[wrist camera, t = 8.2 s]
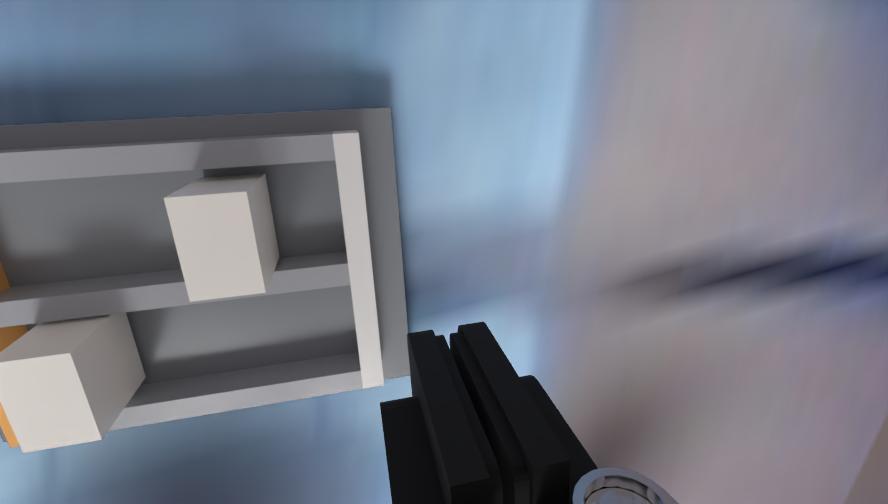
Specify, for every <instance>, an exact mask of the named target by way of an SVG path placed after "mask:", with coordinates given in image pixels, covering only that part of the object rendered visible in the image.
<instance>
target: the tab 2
mask: <svg viewBox="0 0 888 504" xmlns="http://www.w3.org/2000/svg"><path fill="white" fill-rule="evenodd" d="M164 202H165V206H166V210H167V214H168V218H169V222H170V226H171V229H172V233H173V237H174V241H175V245H176V249H177V253H178V257H179V261H180V265H181V269H182V273H183V277H184V281H185V285H186V289H187V293H188V297H189V301H190V302H193V301H201V300H210V299H218V298H226V297H235V296H243V295H251V294H260V293H266V291H267V288H268V285H269V283H270V280H271V278H272V275H273V272H274V270H275V267H276V265H277V262H278V259H279V257H280V256H279V250H278V244H277V238H276V233H275V227H274V221H273V215H272V210H271V204H270V198H269V192H268V187H267V181H266V175H265V173H261V174H247V175H233V176H219V177H205V178H199V179H197V180H195V181H193V182H192V183H190V184H188V185H186V186H184V187H183V188H181V189H179V190H177V191H175V192H173V193H172V194H170V195H168V196H166V197H164Z"/></svg>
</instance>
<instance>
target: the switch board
mask: <svg viewBox="0 0 888 504" xmlns="http://www.w3.org/2000/svg"><path fill="white" fill-rule="evenodd" d="M261 173H265V175H266V181H267V187H268V192H269V198H270V204H271V210H272V215H273V221H274V227H275V233H276V238H277V244H278V250H279V256H280V257H279V259H278V262H277V265H276V267H275V270H274V272H273V275H272V278H271V280H270V283H269V285H268V288H267V291H266V293H260V294H251V295H243V296H235V297H226V298H218V299H210V300H201V301H193V302H190V301H189V297H188V293H187V289H186V285H185V281H184V277H183V273H182V269H181V265H180V261H179V257H178V253H177V249H176V245H175V241H174V237H173V233H172V229H171V226H170V222H169V218H168V214H167V210H166V206H165V202H164V197H166V196H168V195H170V194H172V193H173V192H175V191H177V190H179V189H181V188H183V187H184V186H186V185H188V184H190V183H192V182H193V181H195V180H197V179H199V178H205V177H219V176H233V175H247V174H261ZM124 312H126V314H127V318H128V321H129V324H130V327H131V331H132V334H133V337H134V340H135V344H136V347H137V350H138V353H139V357H140V360H141V363H142V366H143V370H144V373H145V376H146V378H145V379H144V381H143V382H142V383H141V385H140V386H139V388H138V389H137V390H136V392H135V393H134V395H133V396H132V398H131V399H130V400H129V402H128V403H127V405H126V406H125V408H124V409H123V410H122V412H121V413H120V415H119V416H118V418H117V419H116V420H115V422H114V423H113V425H112V426H111V428H110V429H109V430H108V431H112V430H118V429H124V428H130V427H136V426H142V425H148V424H154V423H160V422H166V421H172V420H178V419H184V418H190V417H196V416H202V415H208V414H214V413H220V412H226V411H232V410H238V409H244V408H250V407H257V406H263V405H269V404H275V403H281V402H287V401H293V400H299V399H305V398H311V397H317V396H323V395H329V394H335V393H341V392H347V391H353V390H359V389H365V388H371V387H377V386H383V385H384V380H385V379H391V378H397V377H403V376H409V375H410V365H409V355H408V344H407V334H408V326H407V312H406V299H405V286H404V273H403V260H402V247H401V234H400V221H399V208H398V195H397V182H396V169H395V156H394V143H393V130H392V117H391V108H390V107H379V108H357V109H336V110H315V111H294V112H273V113H251V114H230V115H209V116H188V117H167V118H145V119H124V120H103V121H82V122H60V123H39V124H18V125H0V352H1V351H3V350H4V349H5V348H7V347H8V346H9V345H11V344H12V343H14V342H15V341H16V340H18V339H19V338H20V337H22V336H23V335H24V334H26V333H27V332H28V331H30V330H31V329H32V328H34V327H35V326H36V325H38V324H39V323H42V322H50V321H58V320H67V319H75V318H83V317H91V316H100V315H108V314H116V313H124ZM0 435H1V438H2V440H3V442H6V441H7V442H8V444H9V446H10V447H16V446H20V445H19V443H18V441H17V438H16V436H15V434H14V432H13V429H12V427H11V425H10V423H9V420H8V418H7V416H6V414H5V411H4V409H3V407H2V405H1V402H0Z"/></svg>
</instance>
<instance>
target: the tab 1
mask: <svg viewBox="0 0 888 504" xmlns="http://www.w3.org/2000/svg"><path fill="white" fill-rule="evenodd" d="M145 378H146V376H145V373H144V370H143V366H142V363H141V360H140V357H139V353H138V350H137V347H136V344H135V340H134V337H133V334H132V331H131V327H130V324H129V321H128V318H127V314H126V312H124V313H116V314H108V315H100V316H91V317H83V318H75V319H67V320H58V321H50V322H42V323H39V324H38V325H36V326H35V327H34V328H32V329H31V330H30V331H28V332H27V333H26V334H24V335H23V336H22V337H20V338H19V339H18V340H16V341H15V342H14V343H12V344H11V345H9V346H8V347H7V348H5V349H4V350H3V351H1V352H0V402H1V405H2V407H3V409H4V411H5V414H6V416H7V418H8V420H9V423H10V425H11V427H12V429H13V432H14V434H15V436H16V438H17V441H18V443H19V445H20V447H21V450H22V452H23V453H27V452H33V451H39V450H45V449H50V448H56V447H62V446H68V445H74V444H80V443H86V442H92V441H98V440H102V439H103V438H104V436H105V435H106V433H107V432H108V430H109V429H110V428H111V426H112V425H113V423H114V422H115V420H116V419H117V418H118V416H119V415H120V413H121V412H122V410H123V409H124V408H125V406H126V405H127V403H128V402H129V400H130V399H131V398H132V396H133V395H134V393H135V392H136V390H137V389H138V388H139V386H140V385H141V383H142V382H143V381H144V379H145Z"/></svg>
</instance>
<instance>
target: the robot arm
mask: <svg viewBox="0 0 888 504" xmlns="http://www.w3.org/2000/svg"><path fill="white" fill-rule="evenodd" d="M407 344H408V355H409V365H410V376H411V386H412V397H408V398H403V399H398V400H392V401H387V402H381V403H380V407H381V415H382V423H383V432H384V440H385V448H386V456H387V464H388V472H389V480H390V488H391V496H392V504H679V503H678V502H676V501H675V500H674V499H673V498H672V497H671V496H670V495H669V494H668V493H667V492H666V491H665V490H664V489H663V488H661V487H660V486H659V485H658V484H656V483H655V482H654V481H653V480H651V479H649V478H647V477H645V476H643V475H641V474H639V473H637V472H634V471H630V470H627V469H623V468H612V467H605V468H600V469H598V468H597V466H596V465H595V463H594V462H593V461H592V459H591V458H590V456H589V455H588V453H587V452H586V450H585V449H584V447H583V446H582V444H581V443H580V442H579V440H578V439H577V437H576V436H575V434H574V433H573V431H572V430H571V428H570V427H569V425H568V424H567V423H566V421H565V420H564V418H563V417H562V415H561V414H560V412H559V411H558V409H557V408H556V406H555V405H554V404H553V402H552V401H551V399H550V398H549V396H548V395H547V393H546V392H545V390H544V389H543V387H542V386H541V385H540V383H539V382H538V380H537V379H536V378H535V377H534V376H532V375H528V376H523V377H519V376H518V375H517V373H516V371H515V370H514V368H513V367H512V365H511V363H510V362H509V360H508V359H507V357H506V355H505V354H504V352H503V351H502V349H501V348H500V346H499V344H498V343H497V341H496V340H495V338H494V336H493V335H492V333H491V332H490V330H489V328H488V327H487V325H486V324H485V323H484V322H478V323H472V324H465V325H459V326H458V332H457V333H451V334H450V349H449V347H448V344H447V342H446V340H445V337H444V335H439V336H435V334H434V332H433V330H427V331H421V332H414V333H408V334H407Z"/></svg>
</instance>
